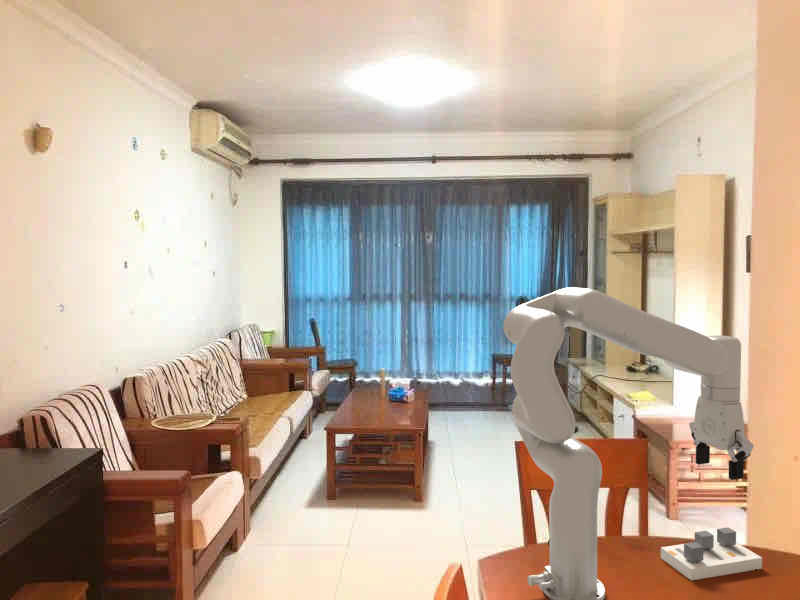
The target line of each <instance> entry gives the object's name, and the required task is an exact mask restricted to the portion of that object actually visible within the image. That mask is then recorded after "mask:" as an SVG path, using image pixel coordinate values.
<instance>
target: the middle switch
mask: <svg viewBox="0 0 800 600" xmlns="http://www.w3.org/2000/svg"><path fill="white" fill-rule="evenodd" d="M714 538H715V537H714V534H712V533H710V532H709V531H707V530H702V531H695V532H694V542H697V543H698V544H700V545H701V546H703V547H704V550H705V549H711V548H713V546H714Z"/></svg>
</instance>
